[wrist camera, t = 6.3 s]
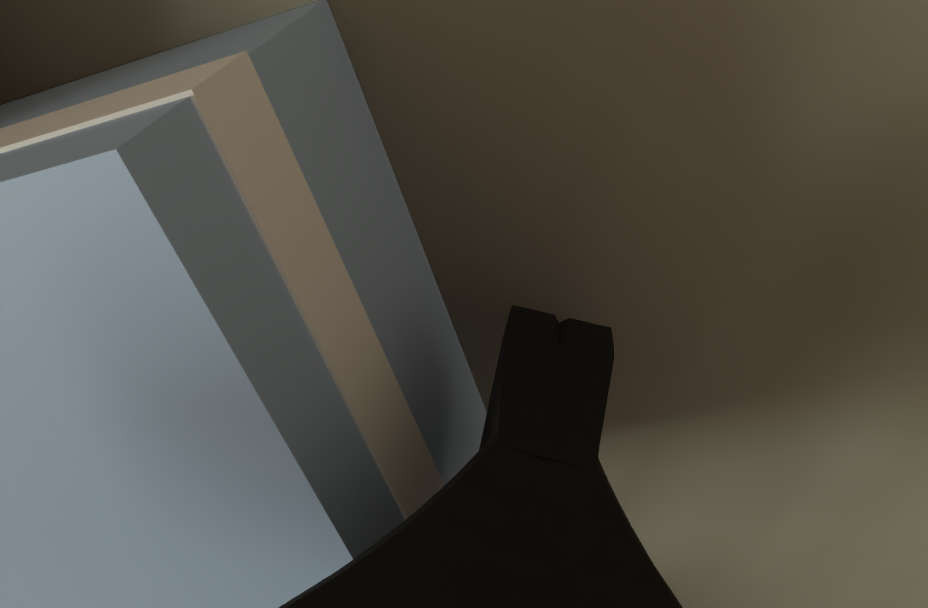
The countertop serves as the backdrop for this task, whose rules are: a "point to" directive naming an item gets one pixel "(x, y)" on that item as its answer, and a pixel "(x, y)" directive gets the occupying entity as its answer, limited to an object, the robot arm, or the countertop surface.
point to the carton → (214, 330)
